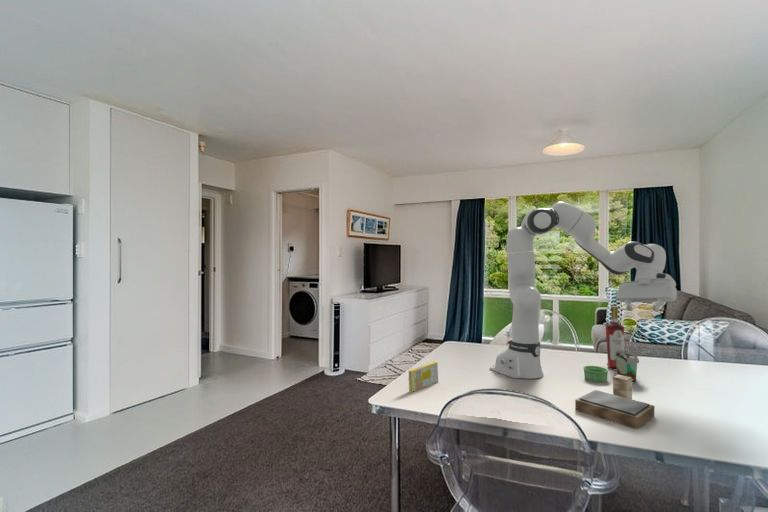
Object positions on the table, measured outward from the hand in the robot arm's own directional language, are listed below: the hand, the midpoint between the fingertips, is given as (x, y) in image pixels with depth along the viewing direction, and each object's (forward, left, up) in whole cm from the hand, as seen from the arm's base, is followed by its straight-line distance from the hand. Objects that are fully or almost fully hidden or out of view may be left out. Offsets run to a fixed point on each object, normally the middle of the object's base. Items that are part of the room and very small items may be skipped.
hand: (641, 310), depth 147 cm
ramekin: (-15, -4, -30) cm, 34 cm away
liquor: (-16, +18, -30) cm, 38 cm away
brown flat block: (+4, -35, -30) cm, 46 cm away
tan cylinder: (+1, -20, -30) cm, 36 cm away
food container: (-6, +6, -30) cm, 31 cm away
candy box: (-54, -65, -30) cm, 90 cm away
